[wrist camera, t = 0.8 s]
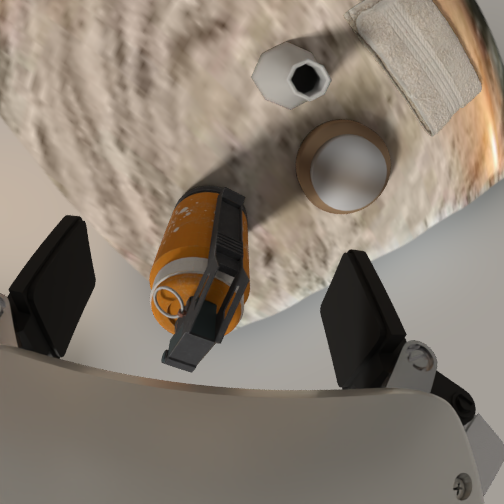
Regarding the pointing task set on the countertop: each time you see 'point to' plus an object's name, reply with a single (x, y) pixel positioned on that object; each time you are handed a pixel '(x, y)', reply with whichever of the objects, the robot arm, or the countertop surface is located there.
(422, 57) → the washcloth
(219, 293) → the canister
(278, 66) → the flask
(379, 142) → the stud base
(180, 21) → the countertop surface
